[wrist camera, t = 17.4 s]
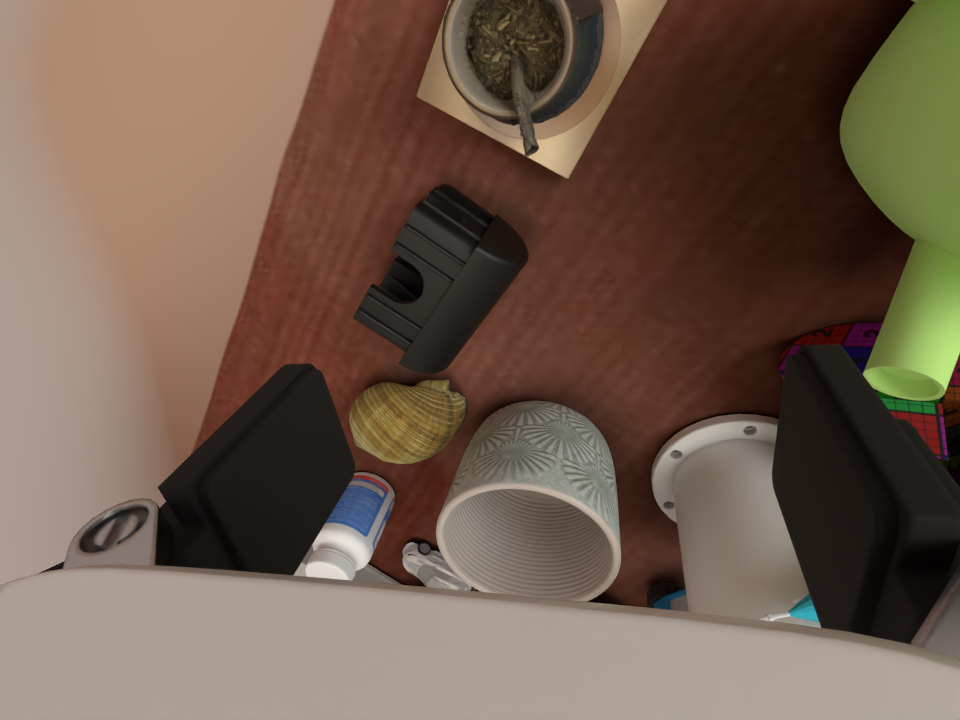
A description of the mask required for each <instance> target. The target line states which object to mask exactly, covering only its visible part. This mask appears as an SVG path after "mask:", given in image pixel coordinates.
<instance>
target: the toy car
mask: <svg viewBox="0 0 960 720" xmlns="http://www.w3.org/2000/svg"><path fill="white" fill-rule="evenodd" d="M430 552H431V553H430ZM403 556H404V557H403V565H404V567H405V569H406V570H407V571H408V572H409V573H411V574H413V575H414V576H416V577H418V578H419V579H420V580H421V581H422V582H423V584H424V585H425V586H426V587H432V588H443V589H454V590H465V591H471V589H472V586H470V585H469V584H468V583H466V582H465V581H464V580H462V579H461V578H460V577H459V576H458V575H457V574H456V573H455V572H454V571H453V570H452V569H451V568H450V567H449V565H448V564H447V563H446V561H445V560H444V558H443V556H442V554H441V553H440V552H438V551H431V547H430V545H429V544H428V543H426V542H422V543H420V544H419V545H418V544H416V543H413V542H410V543H408V544H407V545H406V546H405V547H404V549H403Z"/></svg>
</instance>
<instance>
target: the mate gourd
mask: <svg viewBox="0 0 960 720" xmlns="http://www.w3.org/2000/svg"><path fill="white" fill-rule="evenodd" d="M603 20H604V19H603V7H602V5H601V3H600V1H599V0H451V2H450V4H449V6H448V8H447V10H446V14H445V16H444V21H443V26H442V28H443V29H442V53H443V60H444V63H445V67H446V70H447V72H448V76H449V78H450V80H451V82H452V84H453V85H454V87H455V89H456V90H457V92H458V93H459V95H461V97H462V98H463V99H464V100H465V101H466V102H467V103H468V104H469V105H470V106H472V107H473V108H475V109H476V110H477V111H479V112H480V113H482V114H484V115H486V116H489V117H492V118H494V119H495V120H497V121H499V122H502V123H505V124H509V125H512V126H515V125H517V124H519V126H520V127H519V129H520V131H521V132H520V135H521V136H522V137H523V146H524V151H525V156H526V157H528V156H530V155H532V154H534V153H536V152H537V151H538V150H539V145H538V143H537V140H536V139H535V130H534V126H533V124H535V123H537V124H538V123H543V122H544V121H546V120H549V119H551V118H555V117H557V116H559V115H560V114H561V113H563V112H564V111H566V110H567V109H569V108H570V106H572V105H573V103H575V102H576V101H577V100H578V99H579V98H580V97H581V96H582V94H583V93H584V92H585V90H586V89H587V87H588V86H589V83H590V81H591V79H592V78H593V76H594V74H595V71H596V69H597V67H598V64H599V61H600V56H601V51H602V44H603V38H604V37H603V36H604V24H603V23H604V22H603Z"/></svg>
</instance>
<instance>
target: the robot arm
mask: <svg viewBox="0 0 960 720" xmlns="http://www.w3.org/2000/svg"><path fill="white" fill-rule="evenodd" d="M354 473H355V463H354V459H353V456H352V454H351V451H350V448H349V445H348V442H347V440H346V437H345V434H344V431H343V429H342V426H341V423H340V420H339V418H338V415H337V412H336V409H335V406H334V404H333V401H332V398H331V395H330V393H329V390H328V387H327V384H326V382H325V379H324V376H323V374H322V372H321V371H320V370H316V368H315V367H314V366H313V365H312V364H287V365H284V366H283V367H281V368H280V369H279V370H278V371H277V372H276V373H275V374H274V375H273V376H272V377H271V378H270V379H269V380H268V381H267V382H266V383H265V384H264V385H263V386H262V387H261V388H260V389H259V390H258V391H257V392H256V393H254V394H253V395H252V396H251V397H250V398H249V399H248V400H247V401H246V402H245V403H244V404H243V405H242V406H241V407H240V408H239V409H238V410H237V411H236V412H235V413H234V414H233V415H232V416H231V417H230V418H229V419H228V420H227V421H226V422H225V423H224V424H222V425H221V426H220V427H219V428H218V429H217V430H216V431H215V432H214V433H213V434H212V435H211V436H210V437H209V438H208V439H207V440H206V441H205V442H204V443H203V444H202V445H201V446H200V447H199V448H198V449H197V450H196V451H195V452H194V453H193V454H192V455H190V456H189V457H188V458H187V459H186V460H185V461H184V462H183V463H182V465H180V466H179V467H178V468H177V469H176V470H175V471H174V472H173V473H172V474H171V475H170V476H169V477H168V478H167V479H166V480H165V481H164V482H163V483H162V484H161V485H160V486H159V487H158V489H159V490H160V492H161V493H162V495H163V497H164V498H165V500H166V503H164V504H163V505H162V507H161V508H159V506H158V505H157V503H155V502H154V501H153V500H151V499H144V498H141V499H134V500H129V501H126V502H123V503H120V504H117V505H115V506H113V507H111V508H109V509H107V510H105V511H103V512H102V513H100V514H99V515H97V516H96V517H94V518H92V519H91V520H90V521H89V522H88V523H87V524H85V525H84V526H83V527H82V528H81V529H80V530H79V531H78V532H77V534H76V535H75V536H74V537H73V539H72V541H71V543H70V545H69V548H68V551H67V555H66V559H65V561H64V562H62V563H60V564H58V565H56V566H53V567H51V568H49V569H47V570H45V571H43V572H40V573H38V574H35V575H31V576H28V577H24V578H20V579H16V580H14V581H11V582H8V583H5V584H2V585H0V720H960V487H959V486H958V484H957V483H956V482H955V480H954V479H953V478H952V476H951V475H950V474H949V472H948V471H947V470H946V468H945V467H944V466H943V465H942V463H941V462H940V461H939V459H938V458H937V457H936V455H935V454H934V453H933V451H932V450H931V449H930V448H929V446H928V445H927V444H926V442H925V441H924V440H923V438H922V437H921V436H920V434H919V433H918V432H917V430H916V429H915V428H914V427H913V426H912V425H911V424H910V423H909V422H908V421H907V420H904V419H901V418H897V419H895V418H894V416H893V415H892V414H891V412H890V411H889V410H888V408H887V407H886V406H885V404H884V403H883V401H882V400H881V399H880V397H879V396H878V395H877V393H876V392H875V390H874V389H873V388H872V386H871V385H870V384H869V382H868V381H867V380H866V378H865V377H864V375H863V374H862V373H861V371H860V370H859V369H858V367H857V366H856V364H855V363H854V362H853V360H852V359H851V358H850V356H849V355H848V353H847V352H846V351H845V349H844V348H843V347H842V346H841V345H840V344H832V345H804V346H801V347H800V349H799V351H798V354H789V355H788V356H787V359H786V364H785V372H784V380H783V388H782V396H781V403H780V411H779V419H776V418H773V417H767V416H761V415H755V414H732V415H724V416H717V417H713V418H709V419H706V420H702V421H700V422H697V423H695V424H693V425H690V426H688V427H686V428H684V429H683V430H681V431H680V432H678V433H677V434H675V435H674V436H673V437H671V438H670V439H669V440H668V441H667V442H666V443H665V444H664V445H663V447H662V448H661V449H660V451H659V452H658V454H657V455H656V458H655V460H654V463H653V466H652V474H651V480H652V490H653V493H654V497H655V500H656V502H657V503H658V505H659V507H660V508H661V510H662V511H663V512H664V513H665V514H666V515H667V516H668V517H669V518H670V519H671V520H673V521H674V522H676V523H677V526H678V534H679V542H680V549H681V557H682V564H683V572H684V580H685V587H686V595H687V602H688V610H689V612H685V611H676V610H667V609H656V608H646V607H635V606H625V605H614V604H604V603H593V602H583V601H572V600H562V599H551V598H541V597H530V596H519V595H509V594H498V593H487V592H476V591H465V590H454V589H443V588H432V587H420V586H409V585H398V584H386V583H375V582H364V581H352V580H341V579H329V578H317V577H305V576H293V575H294V574H295V572H296V570H297V569H298V567H299V566H300V564H301V562H302V561H303V559H304V557H305V556H306V554H307V552H308V551H309V549H310V547H311V546H312V544H313V543H314V541H315V539H316V538H317V536H318V534H319V533H320V531H321V529H322V528H323V526H324V524H325V523H326V521H327V520H328V518H329V516H330V515H331V513H332V511H333V510H334V508H335V506H336V505H337V503H338V501H339V500H340V498H341V496H342V495H343V493H344V492H345V490H346V488H347V487H348V485H349V483H350V482H351V480H352V478H353V476H354ZM808 594H810V597H811V599H812V602H813V605H814V608H815V611H816V614H817V617H818V620H819V622H815V621H810V620H805V619H801V618H796V617H791V616H788V617H784V618H779V619H774V620H773V621H766V620H759V619H760V618H762V617H764V616H765V614H768V613H769V614H771V615H773V614H778V613H783V612H788V611H789V610H790V609H791V608H792V607H794V606H795V605H796V604H797V603H798V602H800V601H801V600H802V599H803V598H804V597H805V596H807V595H808Z"/></svg>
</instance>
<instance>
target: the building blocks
mask: <svg viewBox="0 0 960 720" xmlns="http://www.w3.org/2000/svg"><path fill="white" fill-rule="evenodd" d="M882 324H883V323H857V324H843V325H838V326H833V327H829V328H824V329H821V330H818V331H815V332H813V333H810V334H808V335H805V336H803V337H802V338H800V339H798V340H797V341H795V342H794V343H792V344H791V345H790V346H789V347H788V348H787V349H786V350H785V351H784V352H783V353H782V356H781V359H780V362H779V367H780V371H781V375H782V378H783V380H784V372H785V364H786V359H787V356H788V355H789V354H798V351H799V349H800V347H801V346H804V345H832V344H840V345H841V346H842V347H843V348H844V349H845V351H846V352H847V353H848V355H849V356H850V358H851V359H852V360H853V362H854V363H855V364H856V366H857V367H858V369H859V370H860V371H861V373H862V374H863V373H864V370H865V367H866V365H867V362H868V360H869V357H870V355H871V352H872V350H873V347H874V345H875V342H876V340H877V337H878V335H879V332H880V329H881V327H882ZM872 388H873V387H872ZM873 389H874V388H873ZM874 390H875V392H876V393H877V395H878V396H879V397H880V399H881V400H882V401H883V403H884V404H885V406H886V407H887V408H888V410H889V411H890V412H891V414H892V415H893V416H894V418H895V419H897V418H901V419H904V420H907V421H908V422H909V423H910V424H911V425H912V426H913V427H914V428H915V429H916V430H917V432H918V433H919V434H920V436H921V437H922V438H923V440H924V441H925V442H926V444H927V445H928V446H929V448H930V449H931V450H932V451H933V453H934V454H935V455H936V457H937V458H938V459H939V461H940V462H941V463H942V465H943V466H944V467H945V468H946V470H947V471H948V472H949V474H950V475H951V476H952V478H953V479H954V480H955V482H956V483H957V484H958V486H959V487H960V354H959V356H958V359H957V362H956V364H955V367H954V370H953V372H952V375H951V378H950V381H949V383H948V386H947V389H946V391H945V394H944V395H943V396H942V397H941V398H939V399H935V400H928V401H917V400H908V399H902V398H898V397H894V396H891V395H888V394H885V393H882V392H880V391H878V390H876V389H874Z"/></svg>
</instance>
